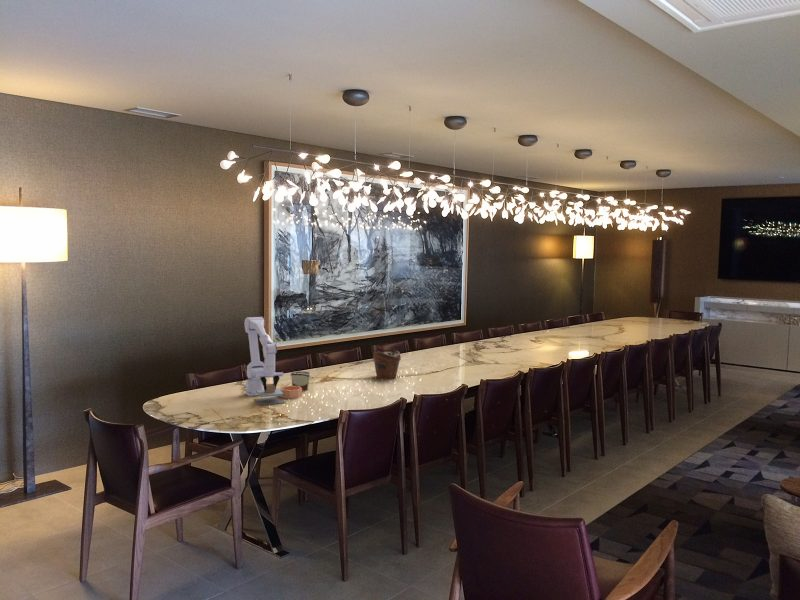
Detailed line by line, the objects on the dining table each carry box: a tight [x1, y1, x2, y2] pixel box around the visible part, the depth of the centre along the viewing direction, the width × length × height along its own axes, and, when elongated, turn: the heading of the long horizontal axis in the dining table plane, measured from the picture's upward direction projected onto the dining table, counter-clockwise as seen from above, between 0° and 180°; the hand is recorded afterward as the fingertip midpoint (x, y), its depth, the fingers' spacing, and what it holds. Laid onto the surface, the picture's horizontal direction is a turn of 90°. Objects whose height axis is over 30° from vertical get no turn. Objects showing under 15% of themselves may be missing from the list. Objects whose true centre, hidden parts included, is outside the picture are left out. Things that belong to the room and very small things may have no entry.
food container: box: [290, 370, 311, 391], centre depth 383 cm, size 12×6×10 cm, turn 74°
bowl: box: [279, 385, 303, 399], centre depth 365 cm, size 12×12×4 cm
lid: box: [256, 383, 284, 398], centre depth 351 cm, size 12×12×5 cm
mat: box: [253, 396, 287, 406], centre depth 352 cm, size 14×14×1 cm
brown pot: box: [372, 349, 402, 380], centre depth 420 cm, size 18×20×18 cm
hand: (269, 390), depth 352 cm, fingers closed on lid, 4 cm apart
